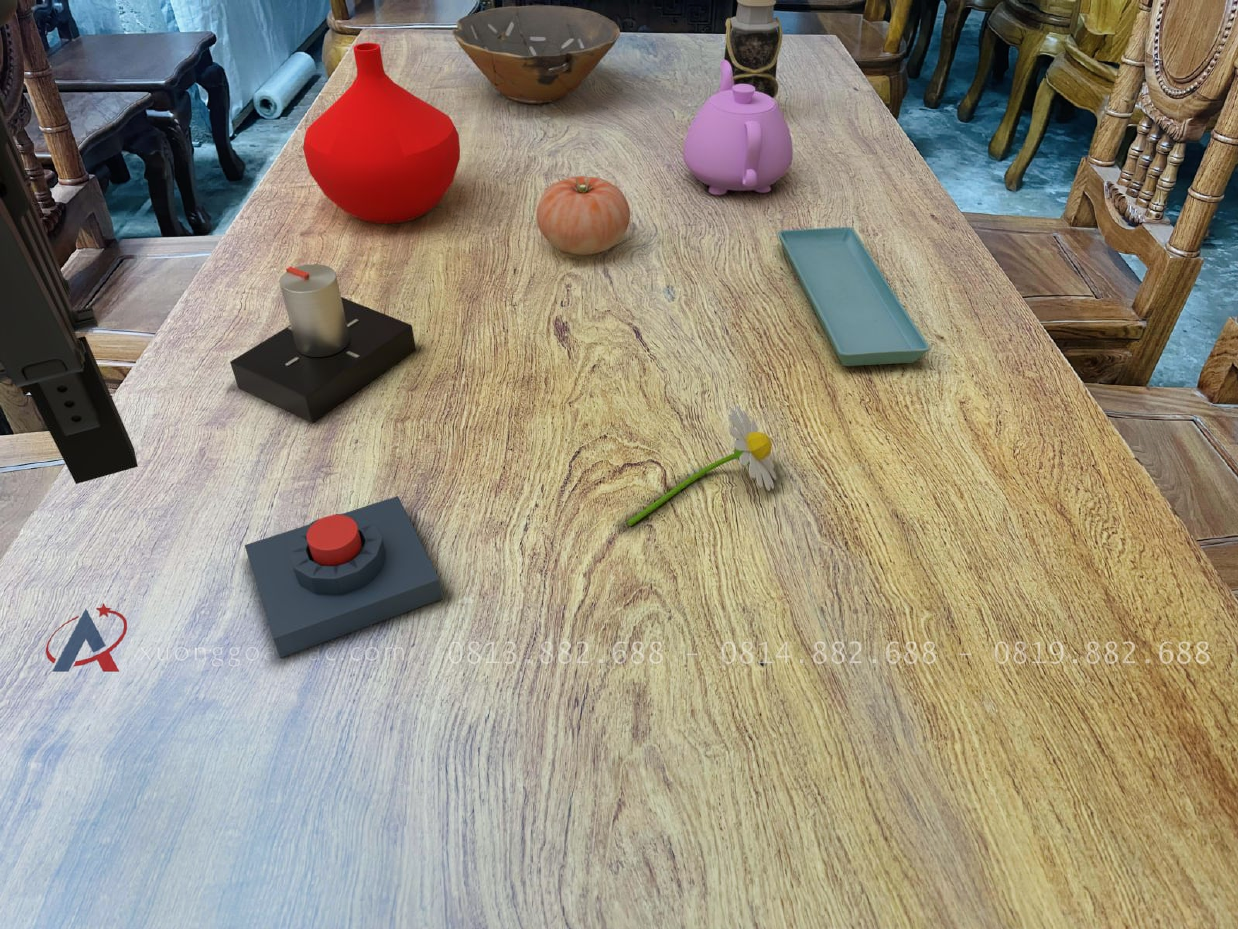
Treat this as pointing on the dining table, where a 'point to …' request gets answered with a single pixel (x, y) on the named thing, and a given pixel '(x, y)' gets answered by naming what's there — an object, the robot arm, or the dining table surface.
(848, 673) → the dining table surface
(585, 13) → the bowl
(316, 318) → the knob
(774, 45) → the lantern
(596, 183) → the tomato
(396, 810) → the dining table surface
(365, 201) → the vase
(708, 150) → the teapot
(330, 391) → the panel
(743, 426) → the decorative flower
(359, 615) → the button box
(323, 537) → the button
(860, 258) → the rectangular tray
